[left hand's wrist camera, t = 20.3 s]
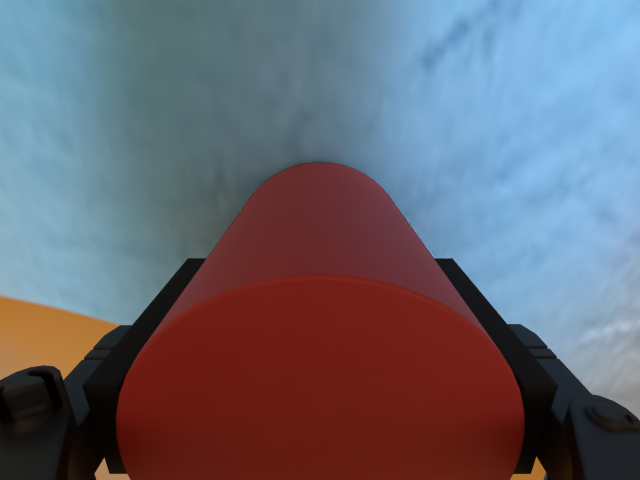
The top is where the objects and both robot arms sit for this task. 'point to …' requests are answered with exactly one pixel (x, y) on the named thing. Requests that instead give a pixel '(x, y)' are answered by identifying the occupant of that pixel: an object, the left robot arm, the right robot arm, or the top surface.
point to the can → (320, 353)
